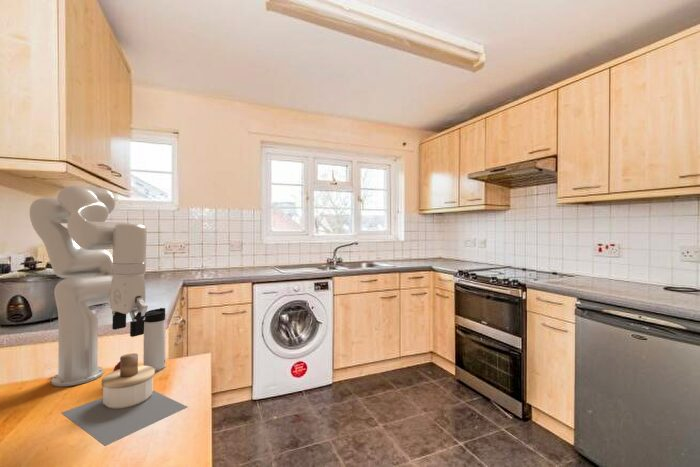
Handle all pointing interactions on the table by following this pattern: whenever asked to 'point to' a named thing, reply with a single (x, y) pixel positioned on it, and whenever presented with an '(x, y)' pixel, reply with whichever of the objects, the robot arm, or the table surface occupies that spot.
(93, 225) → the robot arm
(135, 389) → the bowl
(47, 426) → the table surface
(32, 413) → the table surface
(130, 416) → the mat
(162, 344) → the travel mug
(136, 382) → the lid
